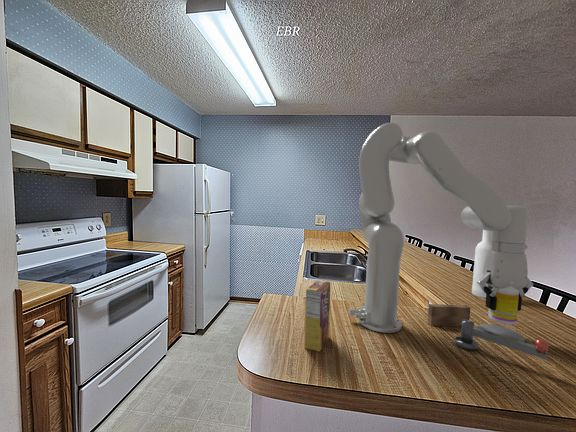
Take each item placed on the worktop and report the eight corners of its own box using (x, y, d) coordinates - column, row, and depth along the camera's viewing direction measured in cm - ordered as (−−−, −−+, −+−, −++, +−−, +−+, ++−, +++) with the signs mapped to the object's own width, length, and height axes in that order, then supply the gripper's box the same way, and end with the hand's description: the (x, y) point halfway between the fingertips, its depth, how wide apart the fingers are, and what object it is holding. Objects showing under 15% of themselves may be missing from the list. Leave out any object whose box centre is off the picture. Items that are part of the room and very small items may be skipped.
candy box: (314, 333, 77) (317, 279, 77) (329, 336, 76) (332, 282, 75) (302, 348, 69) (305, 288, 68) (319, 352, 68) (322, 291, 67)
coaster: (496, 343, 75) (496, 341, 75) (468, 325, 86) (469, 323, 86) (535, 345, 76) (535, 342, 76) (503, 326, 87) (503, 324, 87)
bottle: (467, 292, 119) (472, 223, 117) (480, 291, 122) (486, 223, 120) (485, 299, 112) (491, 225, 110) (499, 298, 114) (505, 225, 112)
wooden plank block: (430, 325, 85) (432, 306, 85) (427, 322, 87) (428, 304, 87) (468, 326, 86) (470, 307, 85) (464, 323, 88) (466, 305, 87)
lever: (452, 344, 74) (454, 318, 73) (458, 338, 77) (459, 313, 77) (544, 377, 61) (547, 346, 60) (546, 368, 64) (549, 338, 64)
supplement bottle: (522, 327, 77) (526, 281, 76) (495, 324, 78) (498, 279, 77) (508, 317, 83) (511, 275, 83) (483, 314, 85) (486, 273, 84)
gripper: (525, 246, 84) (520, 304, 85) (469, 245, 83) (465, 303, 84) (549, 251, 76) (543, 314, 77) (488, 249, 76) (483, 313, 77)
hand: (502, 308), depth 81 cm, fingers closed on supplement bottle, 6 cm apart
